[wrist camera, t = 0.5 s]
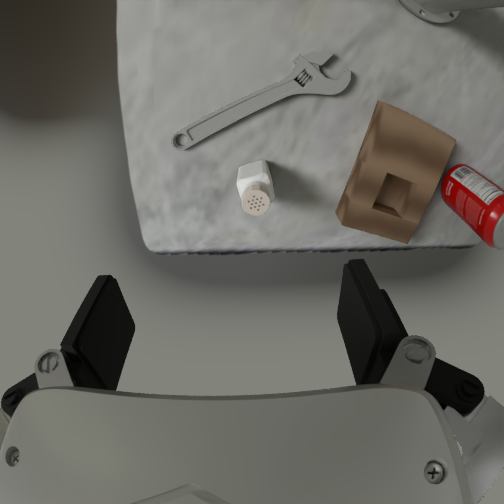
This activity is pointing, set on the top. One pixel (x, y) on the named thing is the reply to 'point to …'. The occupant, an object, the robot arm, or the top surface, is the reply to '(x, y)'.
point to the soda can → (476, 203)
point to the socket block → (394, 174)
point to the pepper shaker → (255, 187)
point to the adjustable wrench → (268, 97)
